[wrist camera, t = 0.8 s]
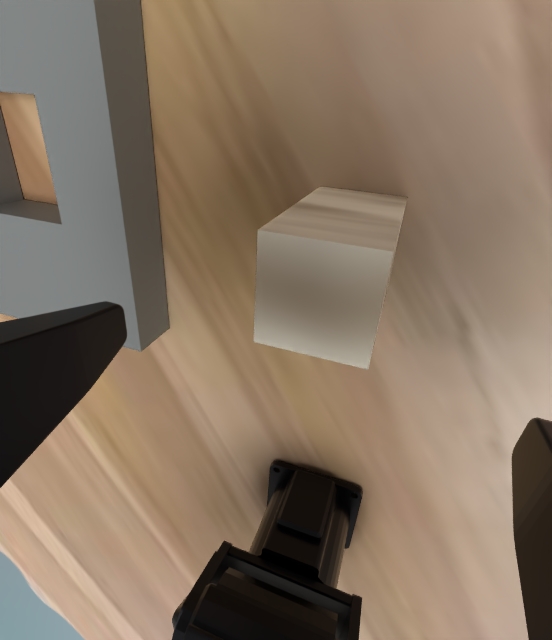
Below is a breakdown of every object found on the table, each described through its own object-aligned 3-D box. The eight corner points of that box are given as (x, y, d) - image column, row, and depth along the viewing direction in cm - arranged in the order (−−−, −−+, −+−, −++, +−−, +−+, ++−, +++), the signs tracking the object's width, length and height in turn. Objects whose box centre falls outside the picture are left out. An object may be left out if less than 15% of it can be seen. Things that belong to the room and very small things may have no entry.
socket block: (169, 327, 26) (141, 351, 23) (6, 287, 29) (-33, 304, 27) (131, -98, 16) (75, -136, 13) (-107, -78, 19) (-186, -106, 17)
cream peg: (389, 279, 19) (368, 369, 13) (311, 265, 20) (253, 341, 14) (407, 197, 17) (393, 251, 11) (319, 186, 18) (257, 230, 12)
